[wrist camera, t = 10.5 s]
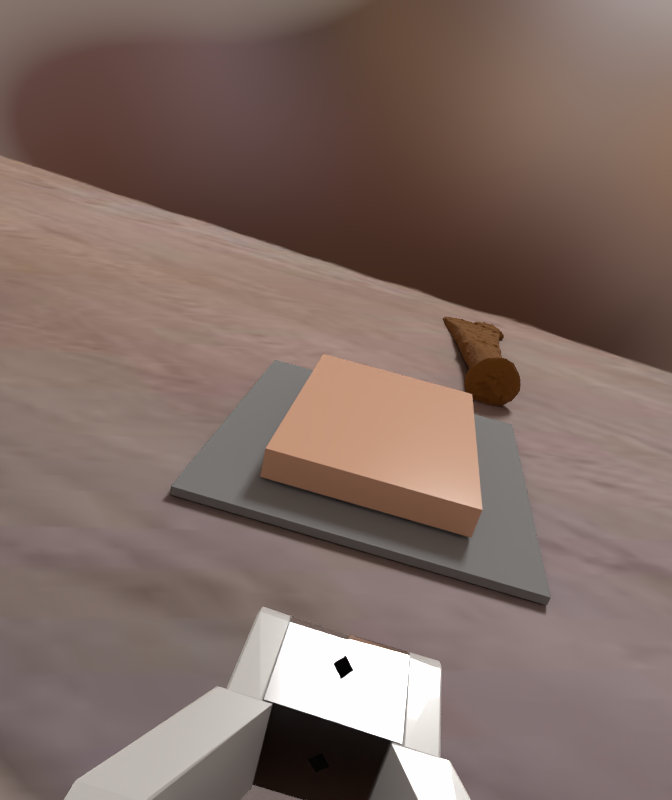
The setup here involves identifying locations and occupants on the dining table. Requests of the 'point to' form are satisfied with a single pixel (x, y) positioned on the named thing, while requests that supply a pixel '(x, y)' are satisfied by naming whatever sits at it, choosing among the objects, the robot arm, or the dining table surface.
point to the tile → (381, 445)
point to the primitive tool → (484, 362)
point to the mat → (363, 527)
